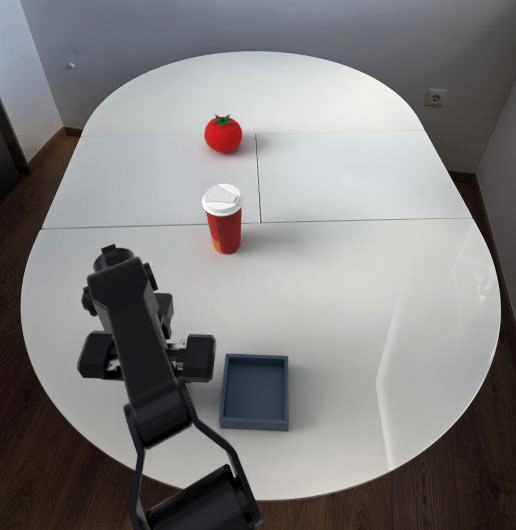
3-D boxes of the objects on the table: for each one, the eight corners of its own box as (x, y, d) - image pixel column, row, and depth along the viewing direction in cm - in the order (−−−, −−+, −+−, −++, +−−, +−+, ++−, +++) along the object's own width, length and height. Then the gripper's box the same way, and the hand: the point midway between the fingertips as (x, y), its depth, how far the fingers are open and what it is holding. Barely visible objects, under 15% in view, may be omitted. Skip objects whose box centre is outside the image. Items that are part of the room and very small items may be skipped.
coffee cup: (251, 235, 97) (249, 187, 87) (236, 263, 92) (233, 215, 81) (217, 225, 99) (211, 177, 89) (201, 252, 94) (193, 204, 84)
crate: (287, 431, 68) (288, 424, 66) (220, 428, 68) (218, 420, 66) (287, 364, 76) (288, 355, 73) (226, 362, 76) (225, 353, 74)
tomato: (217, 133, 125) (214, 103, 119) (249, 142, 122) (248, 112, 115) (198, 153, 119) (194, 124, 112) (232, 164, 115) (230, 134, 108)
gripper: (216, 280, 62) (223, 333, 72) (88, 276, 63) (114, 329, 73) (206, 355, 54) (216, 403, 64) (59, 350, 54) (93, 398, 65)
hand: (158, 380), depth 67 cm, fingers closed on can, 6 cm apart
